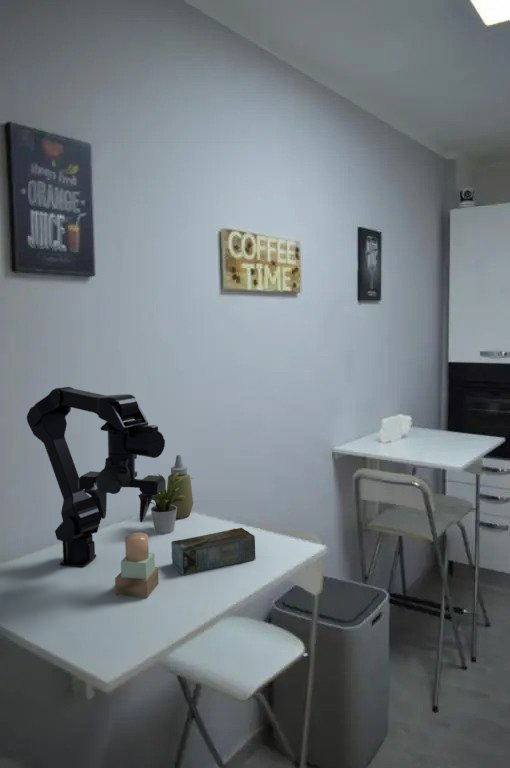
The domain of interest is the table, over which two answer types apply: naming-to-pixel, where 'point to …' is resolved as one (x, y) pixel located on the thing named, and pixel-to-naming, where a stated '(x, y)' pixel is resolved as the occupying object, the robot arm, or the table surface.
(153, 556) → the top block
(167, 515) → the house plant
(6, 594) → the table surface
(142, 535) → the pink domed cylinder
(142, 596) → the base block
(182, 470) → the squeeze bottle
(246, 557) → the beverage carton
